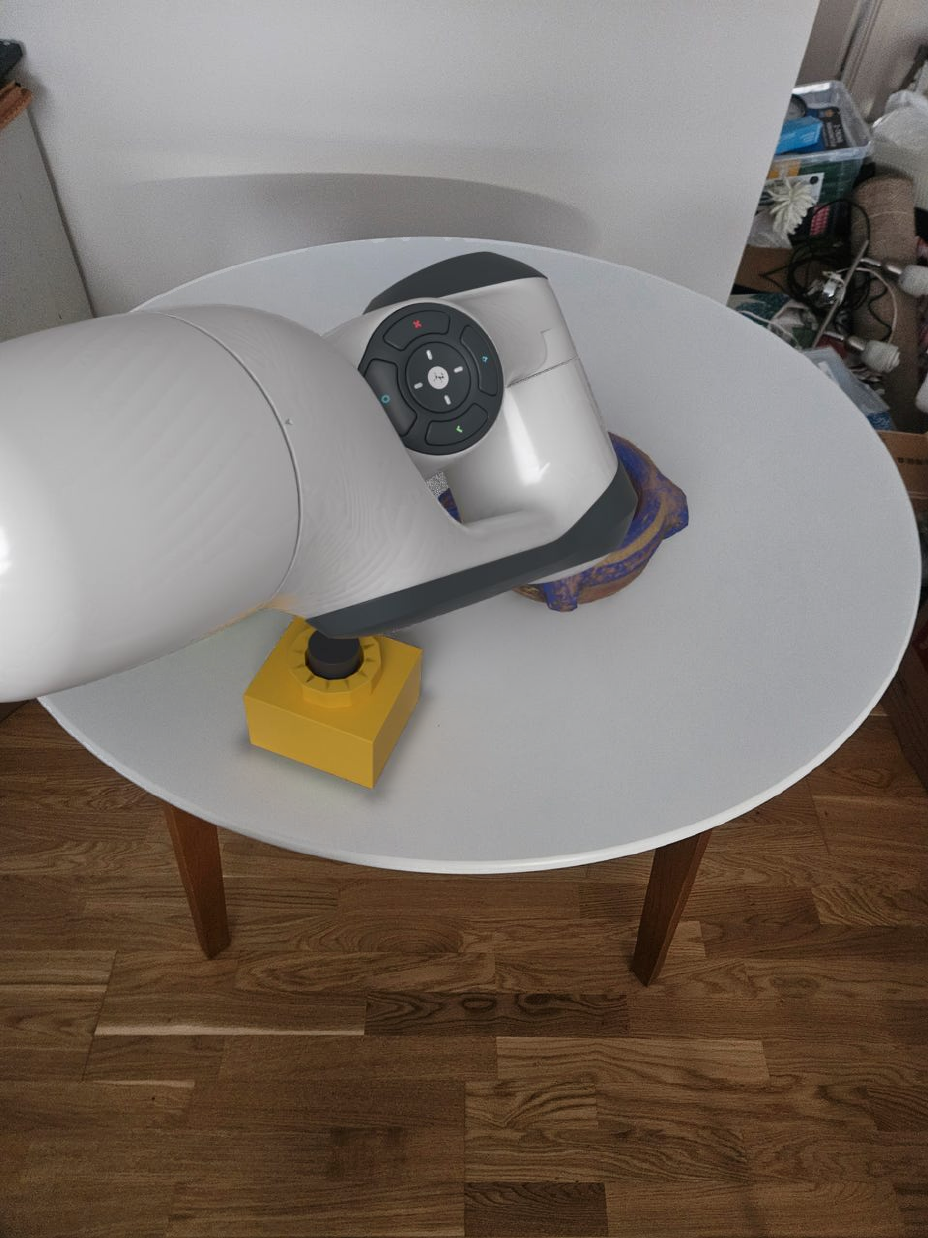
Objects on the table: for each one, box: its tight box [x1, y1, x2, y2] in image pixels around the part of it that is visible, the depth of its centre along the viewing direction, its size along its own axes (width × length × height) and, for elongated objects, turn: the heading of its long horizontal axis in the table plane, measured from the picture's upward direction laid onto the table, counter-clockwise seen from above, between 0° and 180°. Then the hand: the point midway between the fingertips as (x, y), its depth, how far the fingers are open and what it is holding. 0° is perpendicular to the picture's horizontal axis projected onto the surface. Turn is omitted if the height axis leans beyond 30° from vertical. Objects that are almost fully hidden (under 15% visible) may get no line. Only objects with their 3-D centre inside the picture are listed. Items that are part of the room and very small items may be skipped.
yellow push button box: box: [242, 615, 423, 790], centre depth 72 cm, size 10×9×8 cm
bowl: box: [437, 430, 690, 613], centre depth 84 cm, size 18×18×10 cm
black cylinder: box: [308, 630, 360, 679], centre depth 68 cm, size 4×4×2 cm
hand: (226, 481), depth 69 cm, fingers open, 8 cm apart
